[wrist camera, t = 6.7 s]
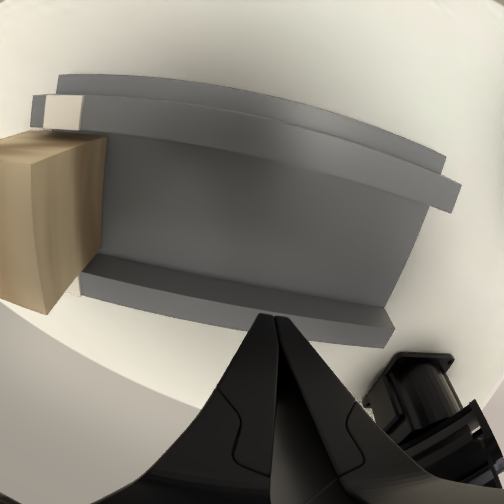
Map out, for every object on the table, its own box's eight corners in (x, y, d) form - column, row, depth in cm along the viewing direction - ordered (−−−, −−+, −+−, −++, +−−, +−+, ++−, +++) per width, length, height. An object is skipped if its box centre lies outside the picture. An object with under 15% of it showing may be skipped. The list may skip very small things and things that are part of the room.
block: (107, 136, 13) (30, 164, 8) (101, 247, 16) (46, 315, 10) (30, 130, 12) (-51, 157, 7) (32, 231, 15) (-30, 285, 10)
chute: (436, 152, 14) (470, 166, 11) (363, 328, 19) (376, 362, 17) (69, 75, 12) (33, 74, 9) (63, 270, 18) (39, 298, 15)
